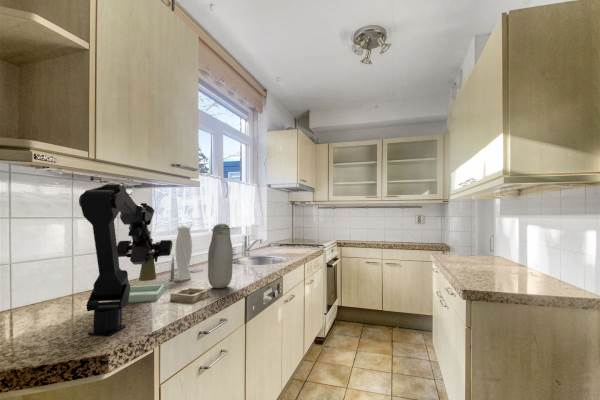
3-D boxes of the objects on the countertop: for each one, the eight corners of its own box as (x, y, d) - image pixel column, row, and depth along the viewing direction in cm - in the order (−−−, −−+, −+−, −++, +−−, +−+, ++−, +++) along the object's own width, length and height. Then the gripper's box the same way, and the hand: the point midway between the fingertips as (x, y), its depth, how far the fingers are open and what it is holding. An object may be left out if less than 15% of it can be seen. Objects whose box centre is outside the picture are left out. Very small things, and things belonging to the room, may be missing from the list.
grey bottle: (224, 291, 123) (226, 224, 124) (203, 289, 126) (204, 223, 127) (236, 285, 133) (237, 223, 134) (215, 284, 135) (216, 223, 137)
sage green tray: (157, 300, 109) (157, 294, 109) (111, 303, 105) (111, 296, 105) (164, 290, 124) (164, 284, 124) (124, 292, 120) (124, 286, 120)
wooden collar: (192, 303, 107) (192, 296, 107) (170, 300, 110) (170, 293, 110) (209, 295, 116) (209, 289, 116) (188, 293, 119) (188, 287, 119)
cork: (155, 280, 113) (155, 251, 114) (137, 281, 111) (138, 252, 112) (157, 277, 119) (158, 249, 119) (140, 278, 117) (141, 250, 117)
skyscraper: (185, 277, 150) (186, 221, 151) (195, 279, 145) (196, 222, 146) (169, 280, 143) (171, 222, 144) (179, 282, 138) (180, 222, 140)
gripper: (104, 253, 99) (116, 280, 109) (163, 252, 102) (170, 278, 113) (115, 229, 107) (125, 255, 117) (169, 228, 111) (175, 254, 121)
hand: (149, 261), depth 117 cm, fingers closed on cork, 5 cm apart
